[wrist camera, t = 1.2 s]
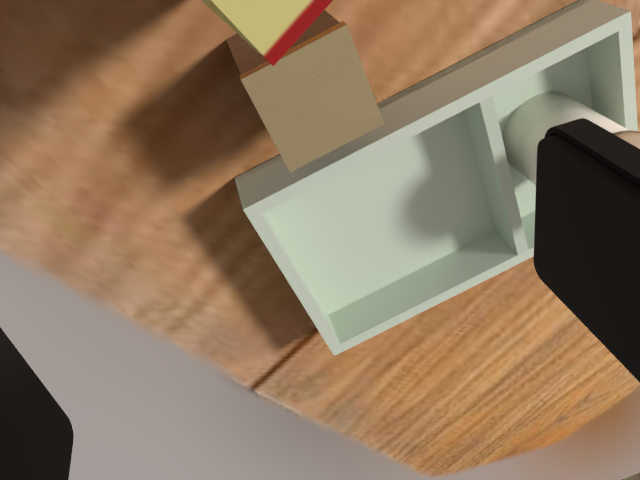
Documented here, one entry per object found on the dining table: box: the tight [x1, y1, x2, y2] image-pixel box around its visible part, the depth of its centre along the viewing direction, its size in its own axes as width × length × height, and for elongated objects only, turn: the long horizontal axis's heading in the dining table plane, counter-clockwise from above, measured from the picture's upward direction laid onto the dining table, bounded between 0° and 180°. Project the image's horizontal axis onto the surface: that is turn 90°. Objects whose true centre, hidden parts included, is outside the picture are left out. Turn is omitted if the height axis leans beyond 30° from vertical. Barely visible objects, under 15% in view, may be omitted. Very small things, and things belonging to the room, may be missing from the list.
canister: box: [502, 92, 640, 186], centre depth 35 cm, size 6×6×8 cm
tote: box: [234, 0, 638, 356], centre depth 37 cm, size 24×14×4 cm, turn 114°
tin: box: [226, 10, 384, 172], centre depth 29 cm, size 5×5×7 cm
